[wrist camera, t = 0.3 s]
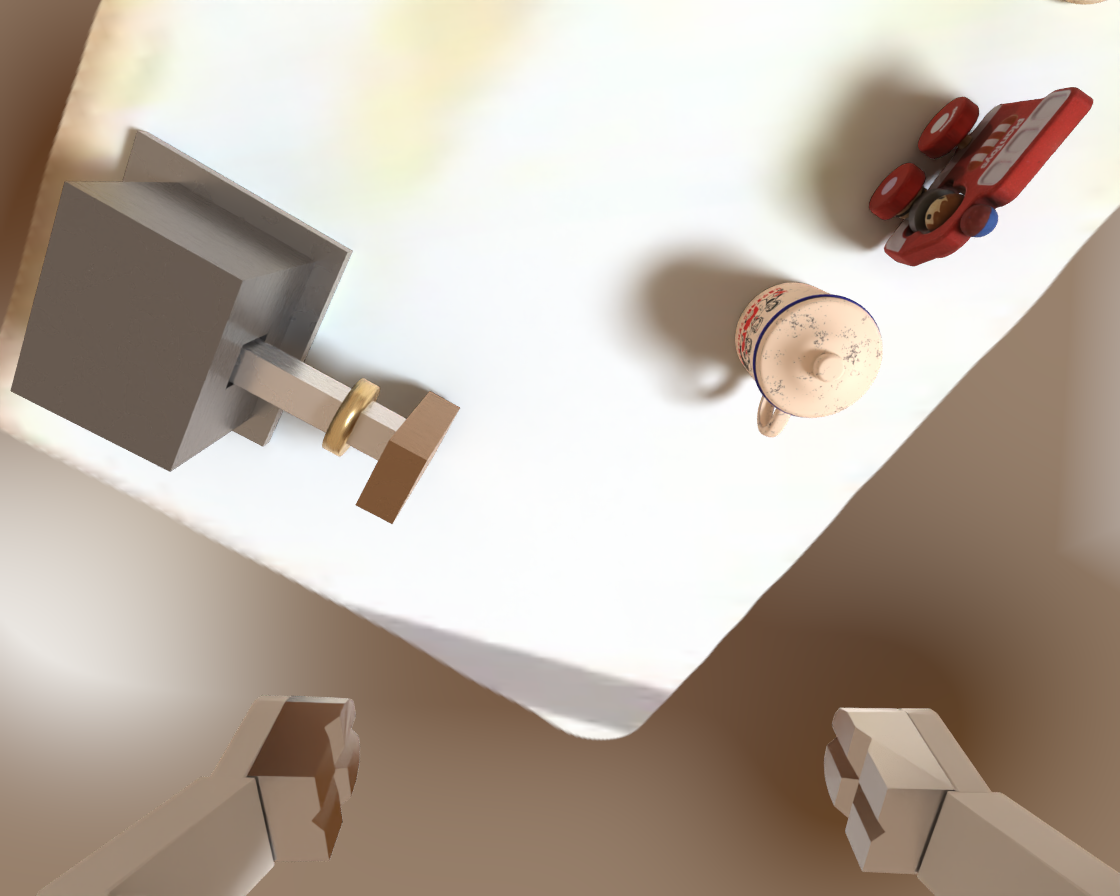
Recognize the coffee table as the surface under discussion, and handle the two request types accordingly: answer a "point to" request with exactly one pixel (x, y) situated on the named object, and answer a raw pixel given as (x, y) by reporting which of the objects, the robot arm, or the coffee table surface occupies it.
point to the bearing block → (169, 304)
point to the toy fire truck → (972, 171)
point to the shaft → (351, 421)
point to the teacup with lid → (806, 352)
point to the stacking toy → (1085, 1)
